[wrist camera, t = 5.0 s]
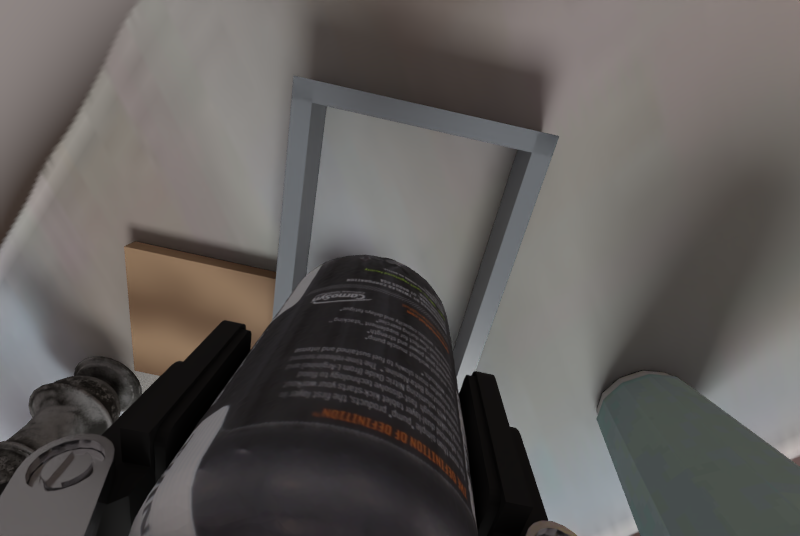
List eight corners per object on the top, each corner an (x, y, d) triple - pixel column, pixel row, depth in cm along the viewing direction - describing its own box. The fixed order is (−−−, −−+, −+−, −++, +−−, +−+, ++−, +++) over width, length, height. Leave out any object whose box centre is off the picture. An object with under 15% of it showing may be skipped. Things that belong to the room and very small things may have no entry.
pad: (272, 389, 29) (267, 398, 29) (143, 362, 29) (134, 370, 28) (283, 273, 26) (278, 279, 25) (135, 241, 25) (124, 246, 24)
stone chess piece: (58, 357, 30) (-161, 505, 19) (125, 349, 29) (-60, 498, 18) (93, 415, 32) (-84, 579, 21) (157, 409, 31) (9, 575, 20)
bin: (449, 405, 29) (451, 437, 26) (280, 370, 29) (265, 398, 26) (542, 132, 21) (559, 136, 18) (311, 79, 21) (293, 75, 18)
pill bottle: (255, 298, 14) (-258, 861, 3) (396, 219, 13) (278, 736, 2) (344, 414, 16) (192, 1023, 5) (476, 355, 14) (636, 1010, 4)
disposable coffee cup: (539, 392, 28) (649, 669, 14) (683, 311, 25) (1005, 568, 11) (614, 475, 31) (767, 777, 17) (752, 412, 27) (1081, 721, 14)
